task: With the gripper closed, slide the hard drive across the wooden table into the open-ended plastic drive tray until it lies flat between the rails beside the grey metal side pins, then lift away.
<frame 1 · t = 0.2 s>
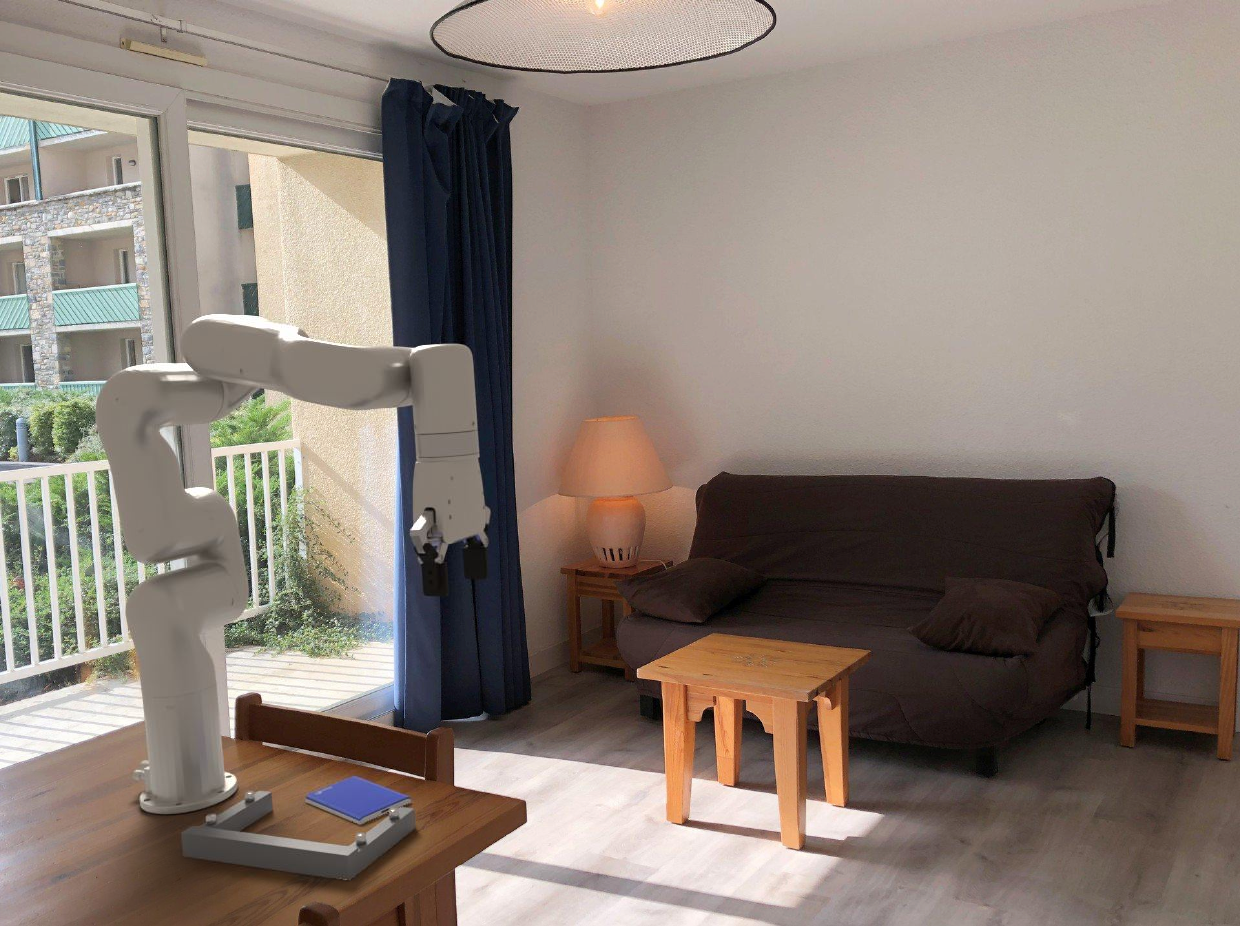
hand: (457, 586, 126), 31 cm above the table, tool pointing down, fingers open, 9 cm apart
hard drive: (358, 807, 139), on the table
drive tray: (301, 841, 128), on the table
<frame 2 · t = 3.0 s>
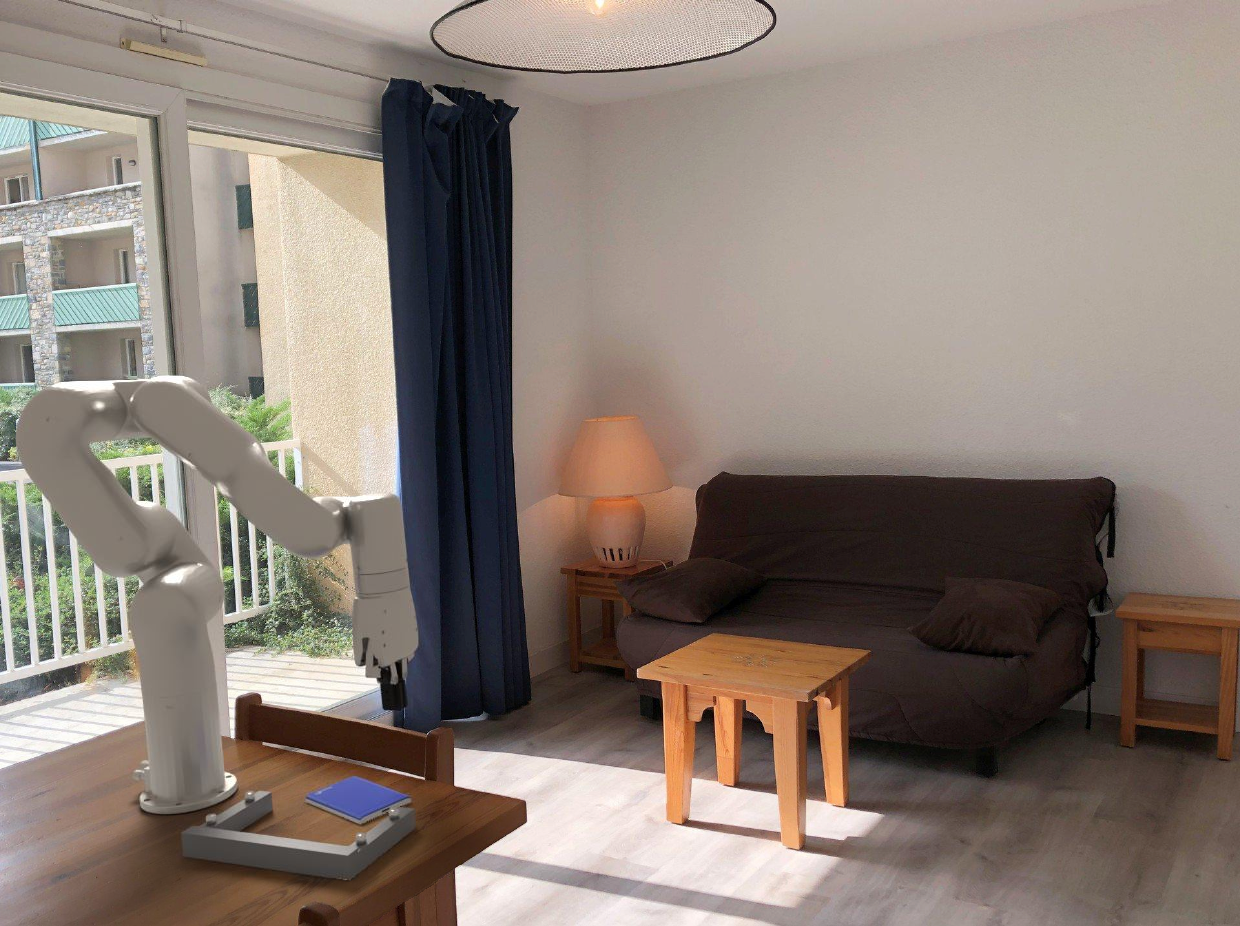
hand: (395, 708, 146), 10 cm above the table, tool pointing down, fingers closed
nothing on the table moved.
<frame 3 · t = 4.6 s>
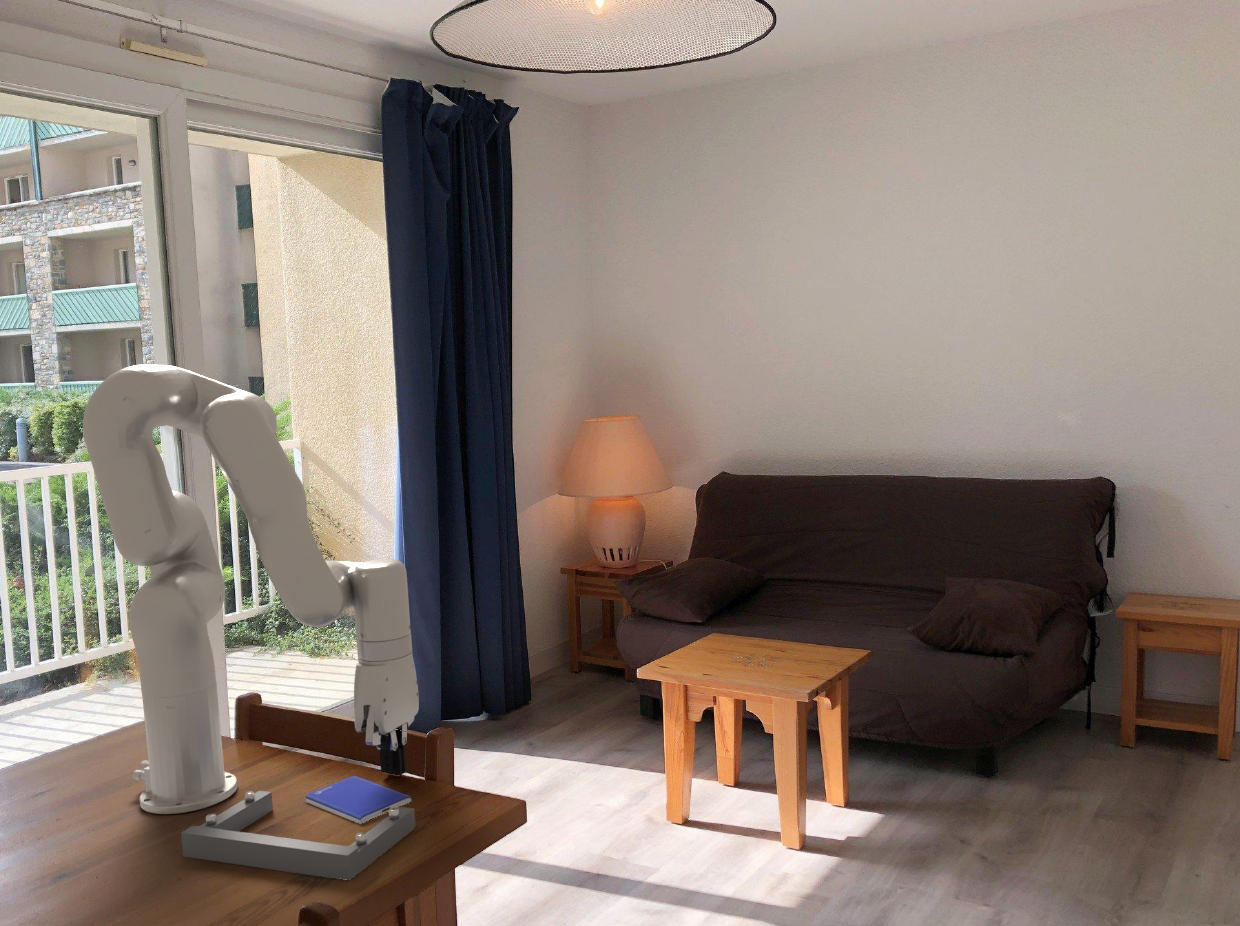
hand: (394, 773, 147), 0 cm above the table, tool pointing down, fingers closed
nothing on the table moved.
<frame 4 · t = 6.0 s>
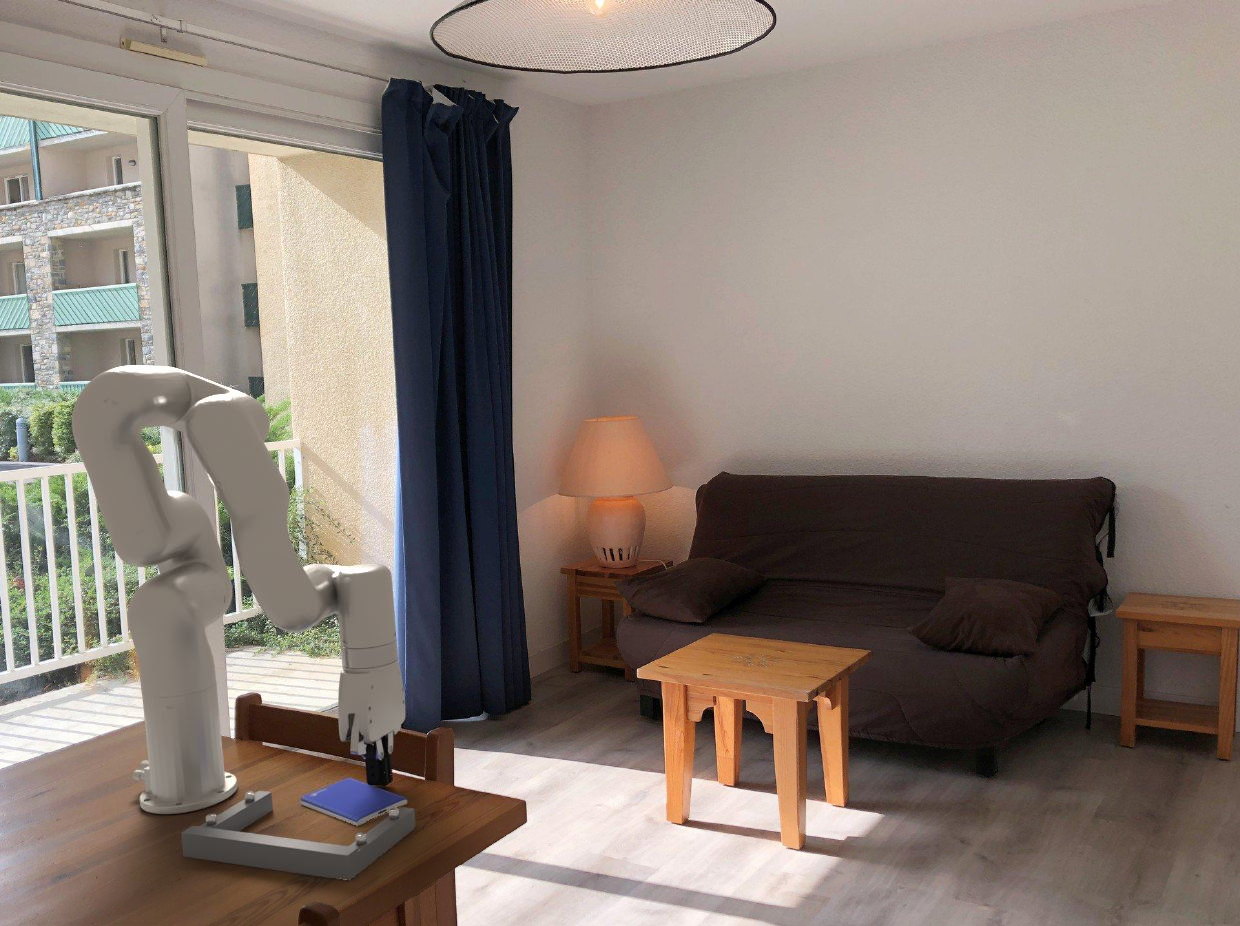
hand: (380, 783, 143), 1 cm above the table, tool pointing down, fingers closed
hard drive: (354, 809, 138), on the table, touching gripper
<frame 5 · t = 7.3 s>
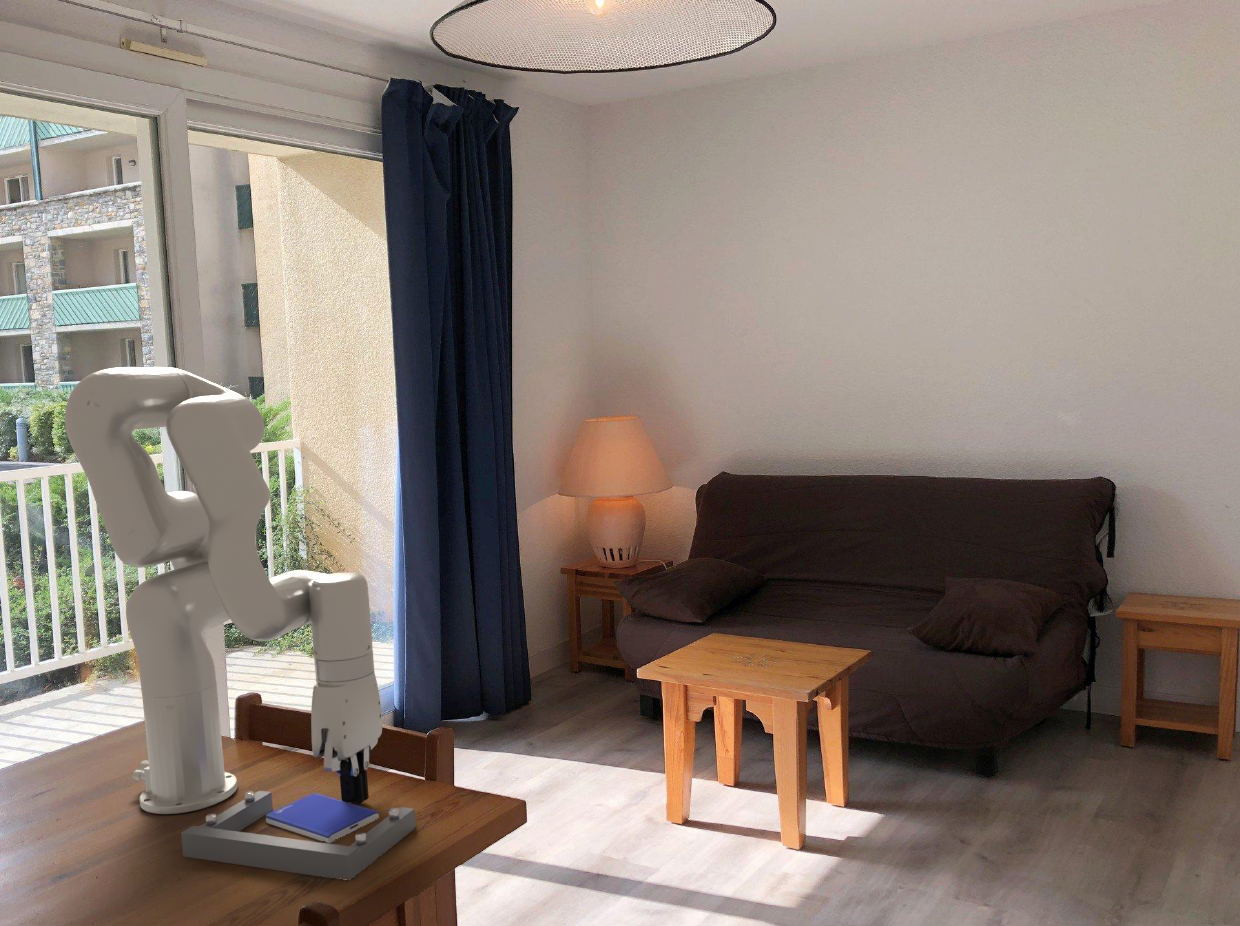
hand: (355, 800, 138), 1 cm above the table, tool pointing down, fingers closed
hard drive: (322, 825, 134), on the table
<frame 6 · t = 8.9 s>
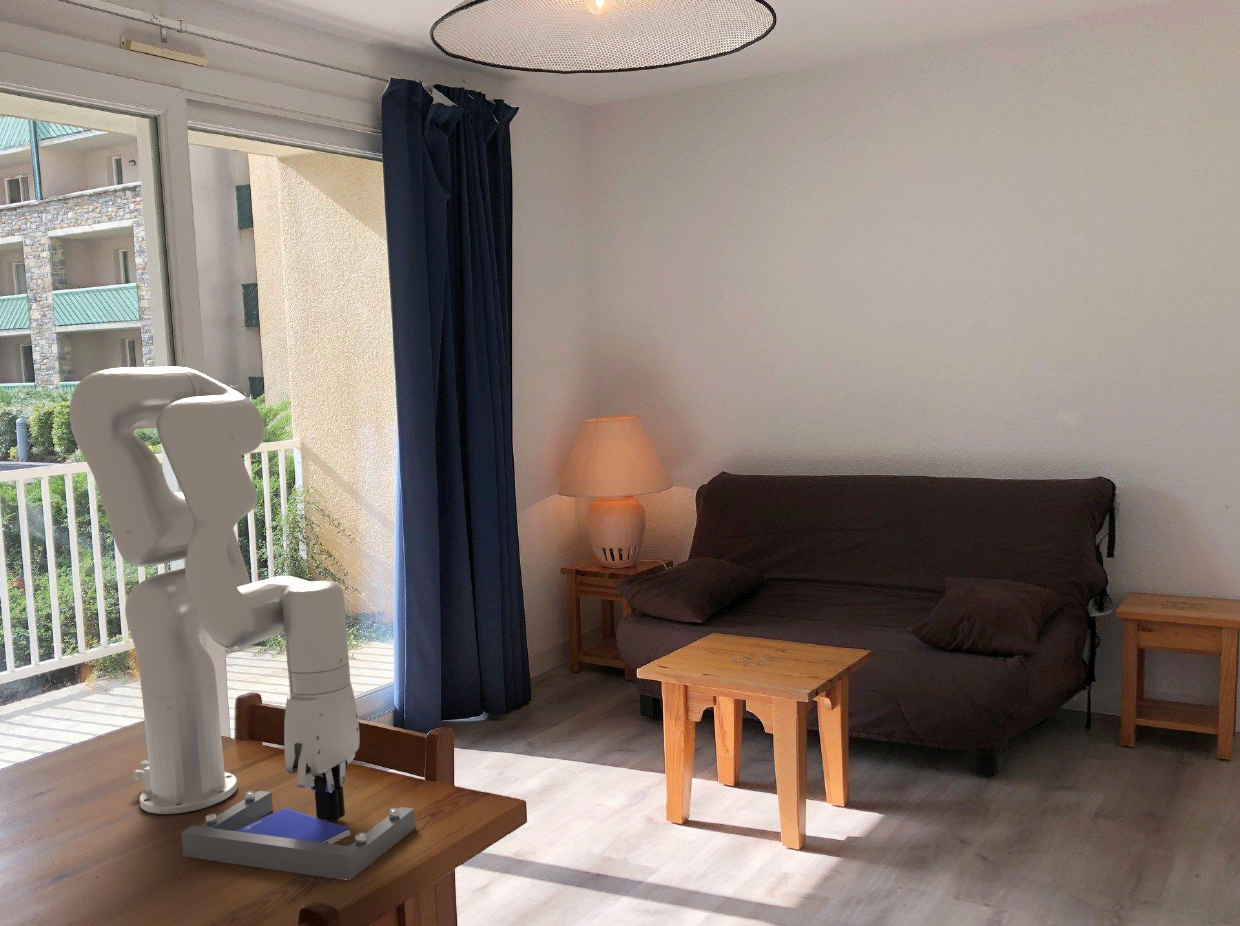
hand: (331, 817, 133), 1 cm above the table, tool pointing down, fingers closed
hard drive: (292, 842, 129), on the table, touching gripper
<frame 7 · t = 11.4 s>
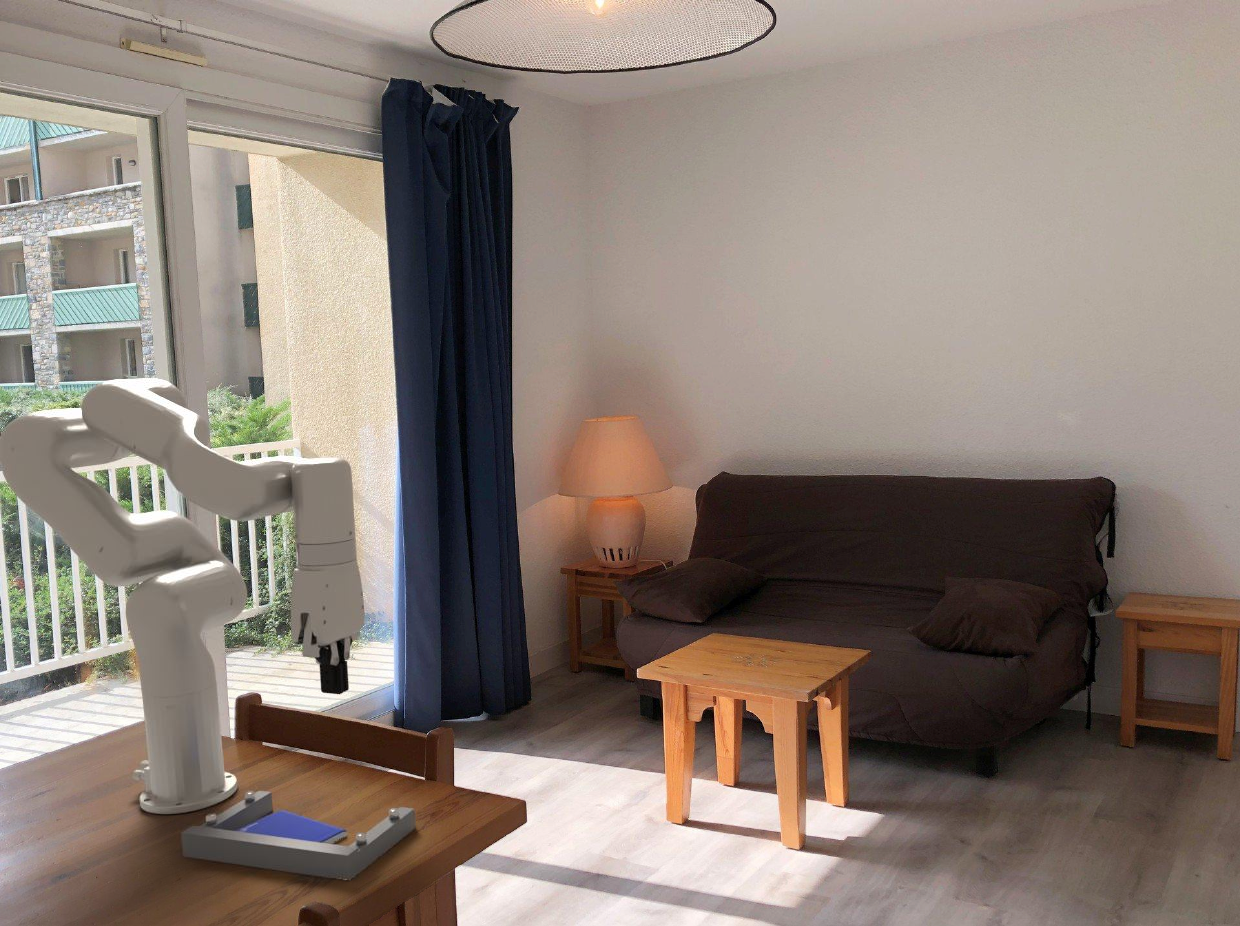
hand: (335, 691, 135), 16 cm above the table, tool pointing down, fingers closed
hard drive: (288, 844, 129), on the table
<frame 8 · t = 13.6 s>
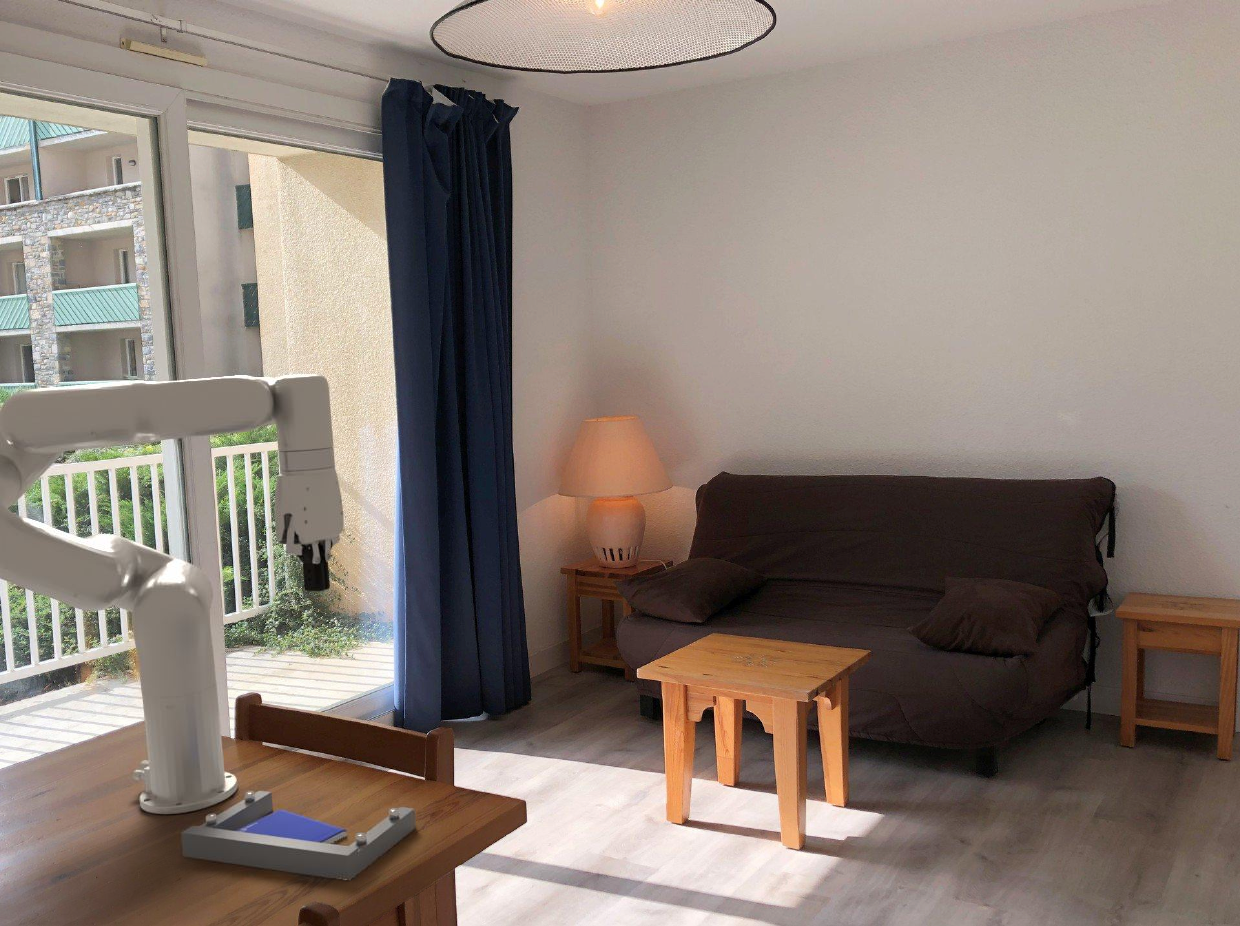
hand: (317, 589, 147), 27 cm above the table, tool pointing down, fingers closed
nothing on the table moved.
at the end: hard drive inside the target area (2.5 cm from its centre), on the table; hard drive tilted 0°; hard drive moved 11.8 cm from its start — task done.
